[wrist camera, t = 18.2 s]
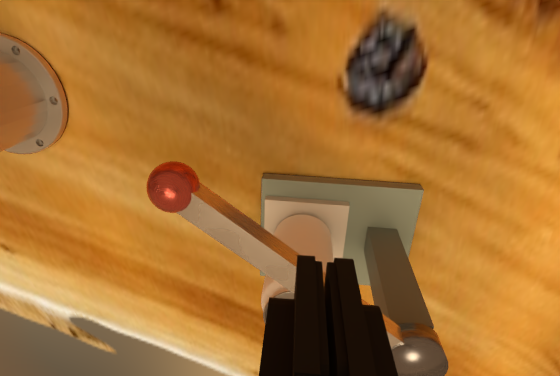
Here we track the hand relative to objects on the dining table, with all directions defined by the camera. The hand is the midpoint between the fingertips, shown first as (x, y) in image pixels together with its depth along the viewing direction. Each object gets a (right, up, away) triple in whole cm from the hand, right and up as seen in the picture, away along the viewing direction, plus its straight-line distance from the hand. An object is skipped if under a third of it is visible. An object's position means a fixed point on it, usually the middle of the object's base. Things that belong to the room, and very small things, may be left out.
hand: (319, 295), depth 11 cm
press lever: (+1, -2, +15) cm, 15 cm away
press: (+5, -2, +31) cm, 32 cm away
